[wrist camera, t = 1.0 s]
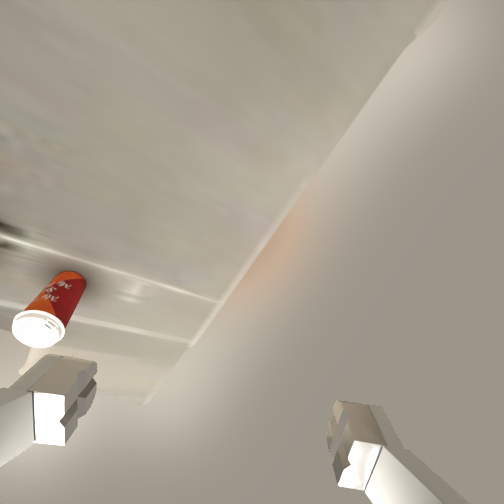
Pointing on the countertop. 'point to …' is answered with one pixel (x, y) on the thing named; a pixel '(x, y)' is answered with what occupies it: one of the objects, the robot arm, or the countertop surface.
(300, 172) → the countertop surface
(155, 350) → the countertop surface
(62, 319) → the paper cup
